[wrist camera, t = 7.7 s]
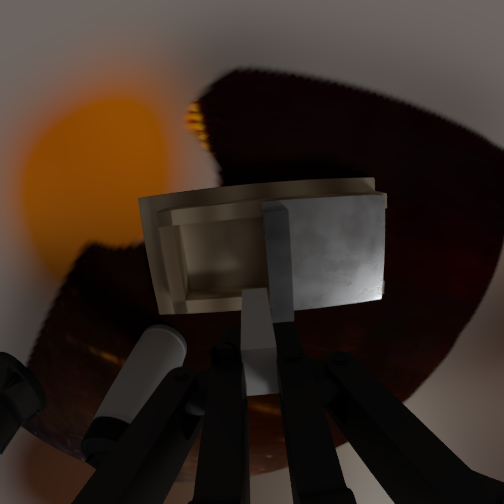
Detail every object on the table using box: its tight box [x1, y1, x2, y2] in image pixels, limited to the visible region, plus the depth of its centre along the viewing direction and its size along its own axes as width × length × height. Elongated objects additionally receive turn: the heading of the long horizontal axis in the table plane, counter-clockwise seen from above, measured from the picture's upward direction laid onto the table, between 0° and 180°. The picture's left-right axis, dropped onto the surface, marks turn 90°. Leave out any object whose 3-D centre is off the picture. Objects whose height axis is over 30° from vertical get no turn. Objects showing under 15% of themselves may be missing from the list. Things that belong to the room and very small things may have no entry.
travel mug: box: [81, 324, 187, 469], centre depth 26 cm, size 6×7×20 cm
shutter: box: [261, 194, 385, 323], centre depth 26 cm, size 12×11×4 cm
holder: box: [138, 177, 387, 314], centre depth 30 cm, size 26×14×4 cm, turn 95°
